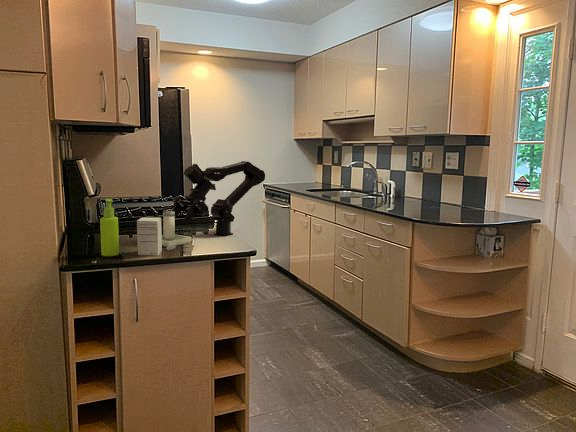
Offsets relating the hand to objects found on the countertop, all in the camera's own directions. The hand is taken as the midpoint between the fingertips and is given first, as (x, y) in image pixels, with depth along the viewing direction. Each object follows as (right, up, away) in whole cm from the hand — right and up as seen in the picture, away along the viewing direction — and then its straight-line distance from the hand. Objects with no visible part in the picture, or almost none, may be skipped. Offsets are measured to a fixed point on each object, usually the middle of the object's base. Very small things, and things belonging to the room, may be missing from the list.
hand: (178, 220), depth 184 cm
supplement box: (-5, -12, -20) cm, 24 cm away
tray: (-3, -9, -2) cm, 10 cm away
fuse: (-3, -8, -2) cm, 9 cm away
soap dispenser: (-18, -12, -24) cm, 33 cm away
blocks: (+5, -11, -12) cm, 17 cm away
